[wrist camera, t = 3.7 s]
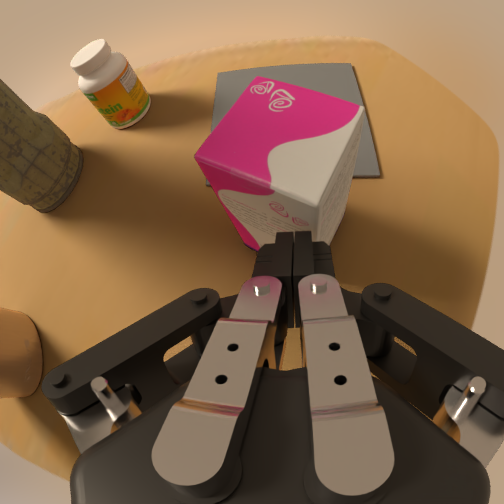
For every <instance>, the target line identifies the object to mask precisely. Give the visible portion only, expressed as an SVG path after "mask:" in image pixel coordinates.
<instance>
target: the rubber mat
mask: <svg viewBox="0 0 504 504" xmlns="http://www.w3.org/2000/svg"><path fill="white" fill-rule="evenodd" d="M256 76H260V77H265V78H269V79H273V80H277V81H281V82H285V83H289V84H293V85H296V86H300V87H304V88H307V89H311V90H314V91H318V92H321V93H324V94H327V95H331V96H334V97H337V98H340V99H343V100H346V101H349V102H351V103H354V104H357V105H360V106H363V107H364V105H363V102H362V98H361V95H360V91H359V88H358V85H357V81H356V78H355V75H354V72H353V69H352V66H351V63H320V64H295V65H281V66H269V67H259V68H250V69H242V70H235V71H228V72H221V73H218V76H217V84H216V92H215V100H214V108H213V117H212V126H211V133H212V131H213V130H214V129H215V127H216V126H217V125H218V124H219V122H220V121H221V120H222V119H223V117H224V116H225V115H226V114H227V112H228V111H229V110H230V109H231V107H232V106H233V105H234V103H235V102H236V101H237V100H238V98H239V97H240V96H241V94H242V93H243V92H244V90H245V89H246V88H247V87H248V85H249V84H250V83H251V82H252V81H253V80H254V78H255V77H256ZM353 177H380V172H379V167H378V163H377V158H376V153H375V149H374V144H373V140H372V136H371V132H370V128H369V124H368V120H367V116H366V112H365V114H364V119H363V126H362V131H361V137H360V142H359V147H358V152H357V157H356V162H355V167H354V172H353ZM206 185H207V186H211V185H210V183H209V181H208V180H207V178H206Z"/></svg>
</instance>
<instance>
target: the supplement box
mask: <svg viewBox="0 0 504 504" xmlns="http://www.w3.org/2000/svg"><path fill="white" fill-rule="evenodd" d="M364 114H365V107H363V106H360V105H357V104H354V103H351V102H349V101H346V100H343V99H340V98H337V97H334V96H331V95H327V94H324V93H321V92H318V91H314V90H311V89H307V88H304V87H300V86H296V85H293V84H289V83H285V82H281V81H277V80H273V79H269V78H265V77H260V76H256V77H255V78H254V80H253V81H252V82H251V83H250V84H249V85H248V87H247V88H246V89H245V90H244V92H243V93H242V94H241V96H240V97H239V98H238V100H237V101H236V102H235V103H234V105H233V106H232V107H231V109H230V110H229V111H228V112H227V114H226V115H225V116H224V117H223V119H222V120H221V121H220V122H219V124H218V125H217V126H216V127H215V129H214V130H213V131H212V133H211V134H210V135H209V136H208V138H207V139H206V140H205V142H204V143H203V144H202V146H201V147H200V148H199V150H198V151H197V152H196V154H195V156H194V158H195V159H196V161H197V163H198V165H199V166H200V168H201V170H202V171H203V173H204V175H205V176H206V178H207V180H208V181H209V183H210V185H211V187H212V188H213V190H214V192H215V193H216V195H217V197H218V199H219V200H220V202H221V204H222V205H223V207H224V209H225V211H226V212H227V214H228V216H229V218H230V219H231V221H232V223H233V224H234V226H235V228H236V229H237V231H238V233H239V235H240V236H241V238H242V240H243V242H244V244H245V245H246V246H248V247H249V248H251V249H253V250H255V251H257V252H258V250H259V249H260V248H261V247H262V246H263V245H264V244H270V243H275V239H276V233H277V232H291V231H293V232H294V236H295V231H311V233H312V242H316V241H324V242H325V243H327V244H328V245H330V243H331V241H332V239H333V237H334V235H335V233H336V231H337V229H338V227H339V225H340V223H341V221H342V218H343V216H344V214H345V209H346V204H347V199H348V195H349V191H350V186H351V181H352V177H353V172H354V167H355V162H356V157H357V152H358V147H359V142H360V137H361V131H362V126H363V119H364Z"/></svg>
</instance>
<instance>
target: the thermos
mask: <svg viewBox="0 0 504 504" xmlns="http://www.w3.org/2000/svg"><path fill="white" fill-rule="evenodd" d="M82 165H83V156H82V152H81V151H80V150H79V148H78V147H77V146H76V145H74V144H72V143H71V142H70V139H69V138H68V136H67V135H66V134H65V133H64V132H63V131H62V130H61V129H60V128H59V127H57V126H56V125H55V124H54V123H53V122H52V121H51V120H50V119H49V118H48V117H47V116H46V115H44V114H41V113H38V112H35V111H33V110H32V109H31V108H30V107H29V106H28V105H27V104H26V103H25V102H23V101H22V100H21V99H20V98H19V97H18V96H17V95H16V94H15V93H14V92H13V91H12V90H11V89H10V88H9V87H8V86H7V85H6V84H5V83H4V82H3V81H2V80H1V79H0V190H1V191H3V192H4V193H6V194H7V195H9V196H11V197H12V198H14V199H16V200H17V201H19V202H21V203H22V204H24V205H30V206H32V207H33V208H34V209H36V210H37V211H39V212H49V211H51V210H53V209H55V208H56V207H58V206H59V205H60V204H61V203H63V202H64V200H65V199H66V198H67V197H68V196H69V194H70V193H71V192H72V190H73V188H74V187H75V185H76V183H77V182H78V179H79V176H80V174H81V171H82Z"/></svg>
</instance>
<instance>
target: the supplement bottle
mask: <svg viewBox="0 0 504 504" xmlns="http://www.w3.org/2000/svg"><path fill="white" fill-rule="evenodd" d="M70 65H71V67H72V69H73V70H74V71H75V73H77V75H79V76H80V77H79V82H78V85H79V88H80V90H81V91H82V92H83V93H84V95H85V96H86V97H87V98H88V99H89V100H90V102H91V103H92V104H93V105H94V106H95V108H96V109H97V110H98V111H99V112H100V113H101V115H102V116H103V117H104V118H105V119H106V121H107V122H108V123H109V124H110V125H111V126H112V127H114V128H117V129H122V128H127V127H129V126H131V125H133V124H135V123H137V122H138V121H139V120H140V119H142V118H143V116H144V115H145V114H146V113H147V111H148V109H149V107H150V104H151V99H150V96H149V94H148V93H147V91H146V89H145V88H144V86H143V85H142V83H141V82H140V80H139V79H138V77H137V75H136V74H135V72H134V71H133V69H132V68H131V66H130V64H129V63H128V61H127V59H126V58H125V57H124V55H122V54H121V53H119V52H111V48H110V46H109V45H108V44H107V42H106V41H105V40H104V39H99V40H96V41H93V42H91V43H89V44H88V45H86V46H85V47H83V48H82V49H81V50H80V51H79V52H78V53H77V54H76V55H75V56H74V58H73V59H72V61H71V64H70Z"/></svg>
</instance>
